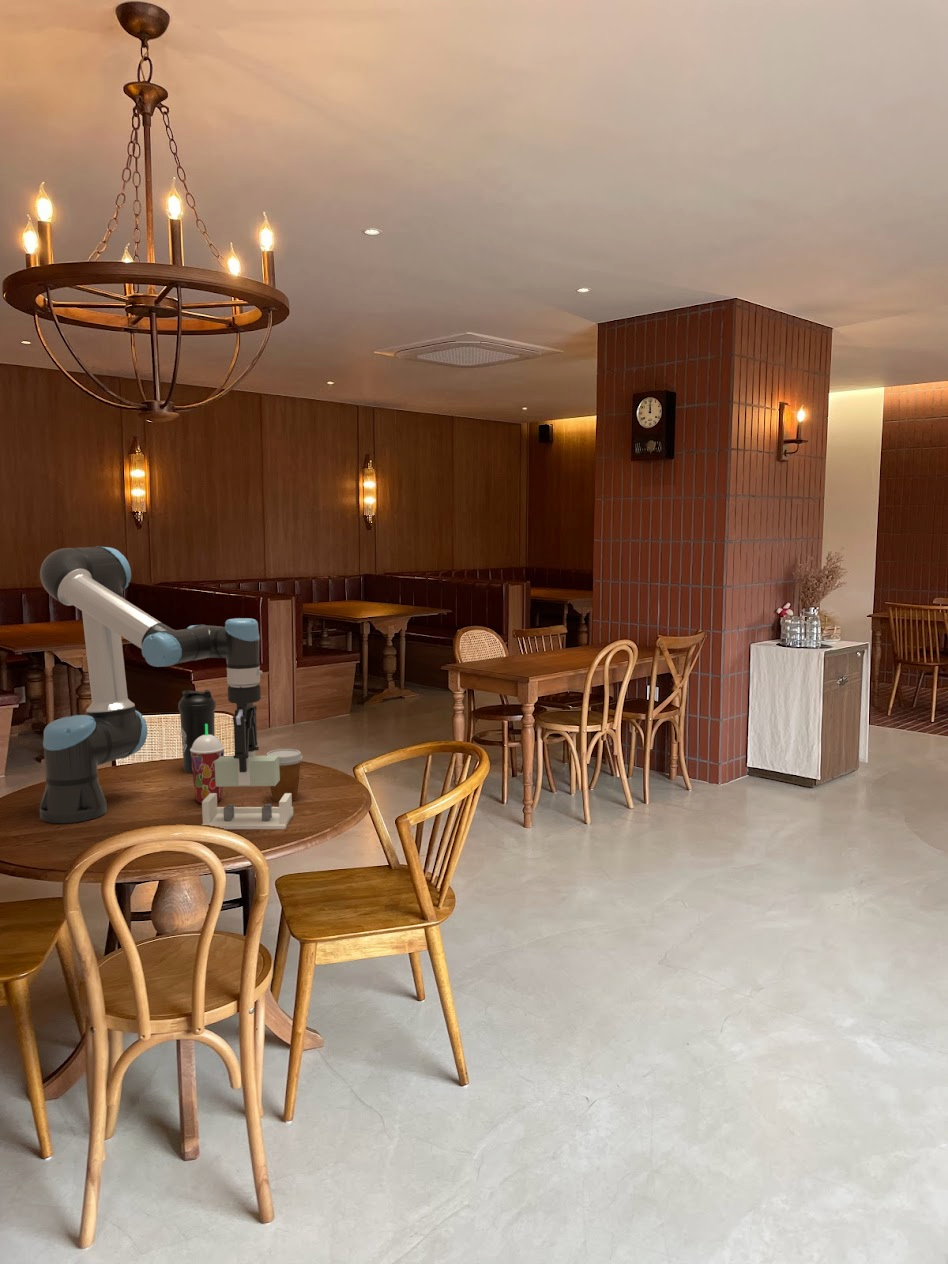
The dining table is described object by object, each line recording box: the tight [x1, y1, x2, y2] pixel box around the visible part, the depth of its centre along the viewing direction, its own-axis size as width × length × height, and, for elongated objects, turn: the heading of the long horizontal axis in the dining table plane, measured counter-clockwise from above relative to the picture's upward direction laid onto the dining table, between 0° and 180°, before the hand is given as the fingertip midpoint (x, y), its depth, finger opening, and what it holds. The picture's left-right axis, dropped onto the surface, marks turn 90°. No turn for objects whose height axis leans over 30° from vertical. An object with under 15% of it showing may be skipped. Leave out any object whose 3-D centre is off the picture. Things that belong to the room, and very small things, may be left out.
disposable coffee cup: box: [265, 748, 303, 803], centre depth 245 cm, size 10×10×12 cm
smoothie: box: [190, 724, 225, 804], centre depth 243 cm, size 8×8×20 cm
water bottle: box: [177, 689, 216, 775], centre depth 272 cm, size 10×10×23 cm
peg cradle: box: [201, 793, 294, 830], centre depth 227 cm, size 20×11×6 cm, turn 90°
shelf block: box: [215, 755, 280, 787], centre depth 226 cm, size 14×5×6 cm, turn 89°
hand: (247, 781), depth 226 cm, fingers closed on shelf block, 5 cm apart
